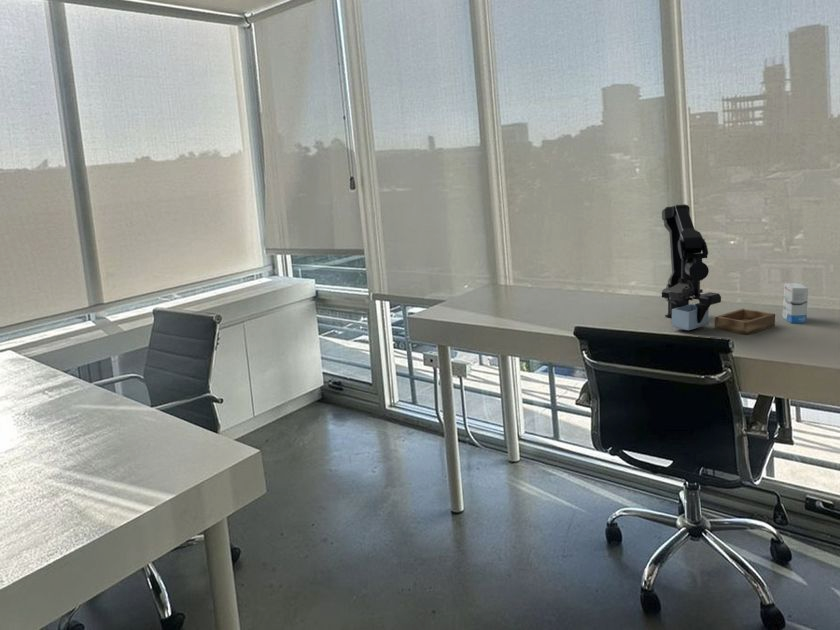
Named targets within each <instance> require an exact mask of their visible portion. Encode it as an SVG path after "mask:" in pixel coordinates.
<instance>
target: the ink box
mask: <svg viewBox="0 0 840 630" xmlns="http://www.w3.org/2000/svg"><path fill="white" fill-rule="evenodd" d="M783 285H784V287H783V300H782V301H783V305H782V318H783V319H785V320H786V321H788V322H789V323H791V324H803V323H805V324H806V323H807V315H808V313H807V312H808V297H809V296H808V295H809V294H808V293H809V287H807V286H805V285H803V284H801V282H795V283H794V282H792V283H788V282H787V283H785V282H784V284H783Z"/></svg>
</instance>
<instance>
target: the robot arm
mask: <svg viewBox="0 0 840 630" xmlns="http://www.w3.org/2000/svg"><path fill="white" fill-rule="evenodd" d="M690 212H691V210H690V206H689V204H675V205H672V206H666V207H665V208H663V209H661V219H662V221H663V226H664V228H665V229H666V230H667V231H668V233H669V246H670V260H671V274H670V276H669V277H668V280H667V284H666V286H665V288H663V290H661V298H664V300H666V302H668V303H667V314H665V315H664V316H665V318H671V319H672V309H675V308H678V307H682V306H686V305H689V304H690V301H693V300H698V302H697V303H695V305H696V306H697V322H698V323H701V321H702V319H703V317H704V315H705V313H706V311H707V310H708V308H710V306H712V305H715V304H719V303H722V296H721V295H720V293H716V292H706V293H703V291H704V290H703V289H702V288H701V281H704V280H705V279H706V278H707V277H708V275H709V274H710V273H709V272H710V271H709V270H710V269H709V267H708V265H707V264H706V263H704V262H703V259H708V255H709V250H708V245H707V242H706V240H705V238H703V235H702V234H701V232H700V231H698V230H696V229H695V227H694V224H693V220H692V218H691V213H690Z"/></svg>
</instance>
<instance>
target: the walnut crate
mask: <svg viewBox="0 0 840 630" xmlns="http://www.w3.org/2000/svg"><path fill="white" fill-rule="evenodd" d="M775 325H776V313H773V312H766V311H760V310H754V309H748V308H739V309H737V310H734V311H730V312H726V313H723V314H720V315H716V316H715V317H714V329H715V330H719V331H725V332H730V333H734V334H735V333H736V334H739V335H740V334H741V335H744V334H745V336H748V334H749V335H751V334H754V333H757V332H761V331H764V330H767V329H769V328H773V327H775Z"/></svg>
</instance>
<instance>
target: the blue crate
mask: <svg viewBox="0 0 840 630" xmlns="http://www.w3.org/2000/svg"><path fill="white" fill-rule="evenodd" d="M695 304H696V303H695ZM695 304H694V303H689V305H686V306H682V307H678V308H675V309H672V318H671V327H672V328H675V329H679V330H685V331H690V330H694V329H698V328H701V327H705V326H709V313H710V312H709V310H710V309H709V308H710V307H709V308H708V310H707V311H706V313H705V315H704V317H703V319H702V321H701V323H698V322H697V306H696V305H695Z"/></svg>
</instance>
